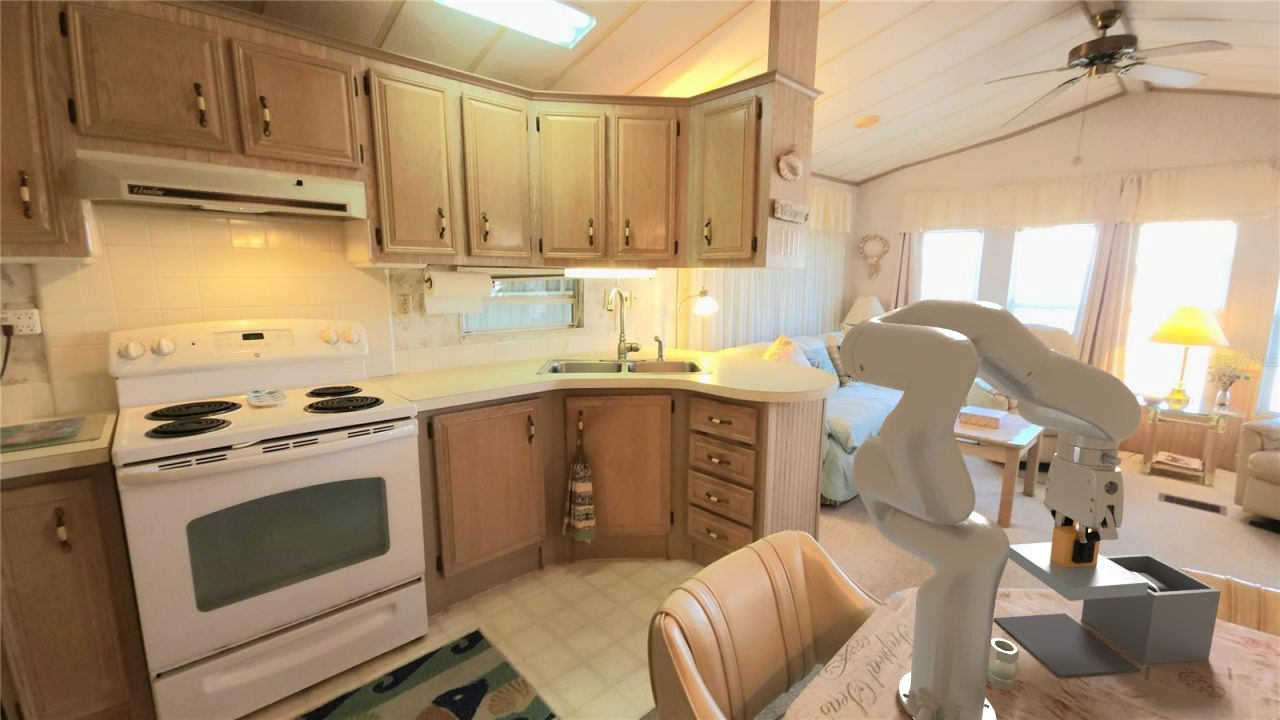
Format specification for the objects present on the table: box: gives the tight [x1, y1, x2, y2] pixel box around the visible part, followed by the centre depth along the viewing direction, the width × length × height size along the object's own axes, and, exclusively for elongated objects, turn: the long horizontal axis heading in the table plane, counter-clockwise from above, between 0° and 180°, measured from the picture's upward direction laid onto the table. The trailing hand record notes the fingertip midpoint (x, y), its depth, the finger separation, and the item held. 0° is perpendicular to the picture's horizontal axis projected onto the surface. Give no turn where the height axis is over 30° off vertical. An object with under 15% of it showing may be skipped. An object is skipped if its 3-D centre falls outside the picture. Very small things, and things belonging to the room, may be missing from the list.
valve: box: [987, 637, 1019, 692], centre depth 86 cm, size 7×7×12 cm
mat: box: [993, 613, 1142, 678], centre depth 90 cm, size 14×14×1 cm
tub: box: [1081, 553, 1222, 666], centre depth 90 cm, size 11×11×12 cm
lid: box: [1008, 524, 1149, 602], centre depth 87 cm, size 13×13×8 cm
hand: (1073, 556), depth 88 cm, fingers closed on lid, 2 cm apart
